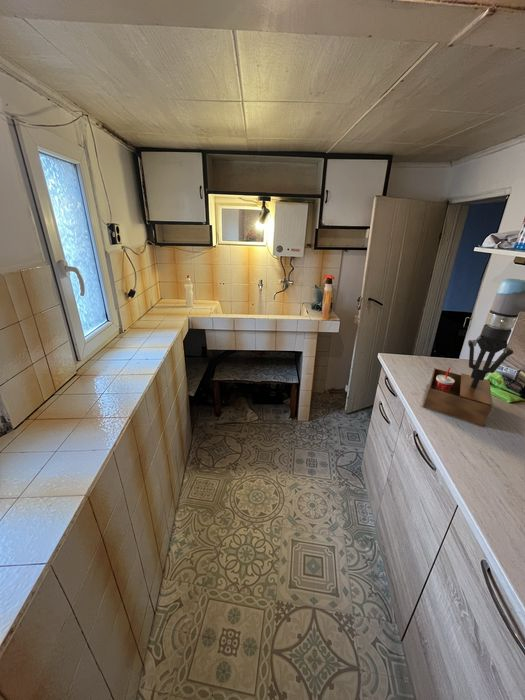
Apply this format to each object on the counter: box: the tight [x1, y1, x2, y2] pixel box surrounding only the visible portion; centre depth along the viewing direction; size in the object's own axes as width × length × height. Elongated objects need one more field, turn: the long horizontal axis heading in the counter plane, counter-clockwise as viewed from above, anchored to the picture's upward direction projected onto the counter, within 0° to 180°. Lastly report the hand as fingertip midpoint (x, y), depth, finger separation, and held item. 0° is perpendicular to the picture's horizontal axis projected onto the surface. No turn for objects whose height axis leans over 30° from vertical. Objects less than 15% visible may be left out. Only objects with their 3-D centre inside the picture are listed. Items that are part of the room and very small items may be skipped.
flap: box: [460, 372, 493, 406], centre depth 104 cm, size 9×20×1 cm, turn 146°
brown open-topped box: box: [422, 367, 493, 427], centre depth 108 cm, size 19×20×8 cm
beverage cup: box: [434, 366, 455, 393], centre depth 110 cm, size 6×6×14 cm
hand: (473, 386), depth 104 cm, fingers closed
